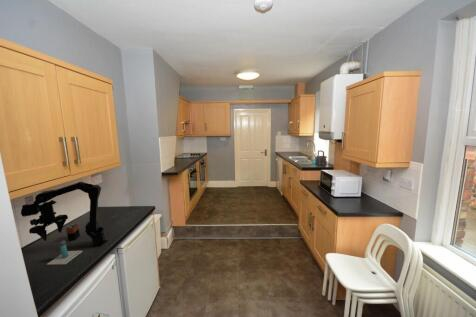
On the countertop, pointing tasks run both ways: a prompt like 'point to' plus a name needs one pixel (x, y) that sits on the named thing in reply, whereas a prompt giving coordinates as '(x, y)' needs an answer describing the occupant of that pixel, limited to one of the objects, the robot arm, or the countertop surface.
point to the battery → (73, 232)
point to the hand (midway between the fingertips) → (52, 236)
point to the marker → (63, 249)
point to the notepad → (61, 261)
